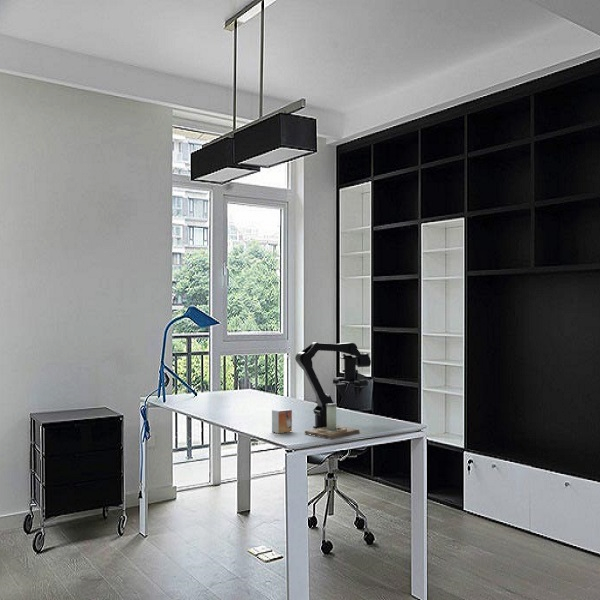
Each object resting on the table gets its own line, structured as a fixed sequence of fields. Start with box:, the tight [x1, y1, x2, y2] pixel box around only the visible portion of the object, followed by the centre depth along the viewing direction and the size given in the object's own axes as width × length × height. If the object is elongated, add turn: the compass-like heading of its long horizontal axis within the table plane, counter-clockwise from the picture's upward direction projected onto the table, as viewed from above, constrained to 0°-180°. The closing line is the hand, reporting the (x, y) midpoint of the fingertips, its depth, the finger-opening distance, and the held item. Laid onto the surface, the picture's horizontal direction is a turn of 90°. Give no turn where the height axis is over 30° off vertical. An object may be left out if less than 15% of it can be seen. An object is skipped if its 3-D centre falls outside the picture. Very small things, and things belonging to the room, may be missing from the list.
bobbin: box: [325, 402, 339, 431], centre depth 313 cm, size 6×6×12 cm
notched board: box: [304, 425, 360, 439], centre depth 315 cm, size 16×20×2 cm
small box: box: [271, 408, 293, 434], centre depth 320 cm, size 8×6×10 cm
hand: (350, 399), depth 335 cm, fingers open, 9 cm apart
